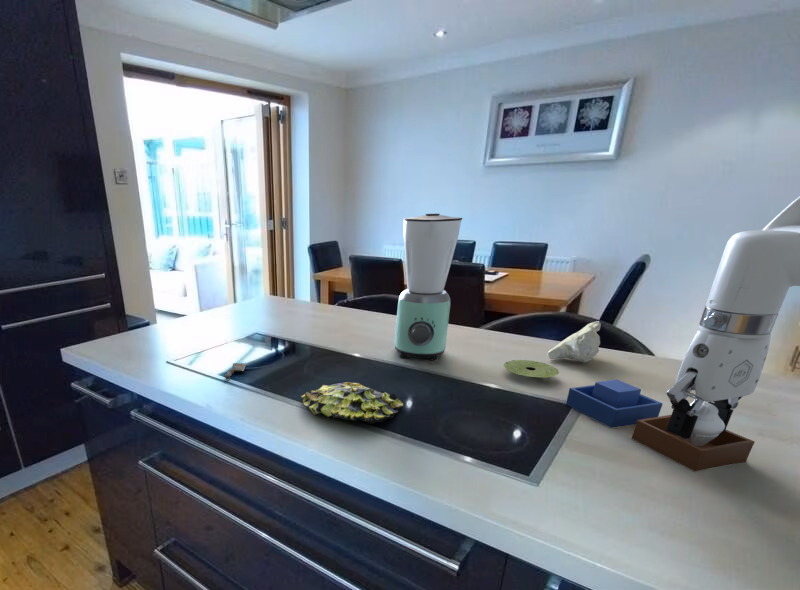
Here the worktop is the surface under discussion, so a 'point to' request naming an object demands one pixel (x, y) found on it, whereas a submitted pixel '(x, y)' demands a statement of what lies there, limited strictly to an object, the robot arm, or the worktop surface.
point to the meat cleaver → (235, 369)
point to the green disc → (531, 368)
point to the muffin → (705, 425)
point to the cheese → (578, 344)
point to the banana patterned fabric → (352, 402)
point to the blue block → (616, 393)
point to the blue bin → (611, 408)
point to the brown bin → (696, 458)
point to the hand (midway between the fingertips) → (695, 430)
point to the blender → (426, 285)
